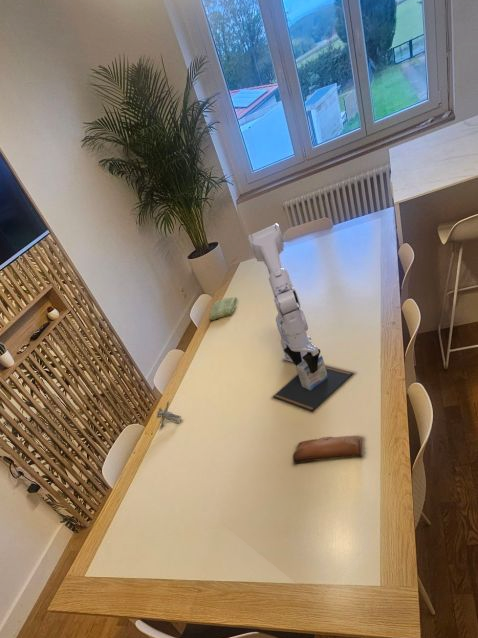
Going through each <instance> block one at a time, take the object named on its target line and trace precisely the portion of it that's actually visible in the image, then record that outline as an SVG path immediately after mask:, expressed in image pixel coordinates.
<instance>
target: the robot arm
mask: <svg viewBox="0 0 478 638" xmlns="http://www.w3.org/2000/svg"><path fill="white" fill-rule="evenodd" d="M247 237H248V238H247V239H248V243H249V245H250V248H251V252H252V254H253V256H254V260H256V262H262V263H264V265H265V266H266V268H267V273H268V275H269V276H268V281H269V285H270V288H271V291H272V294H273V297H274V298H273V301H274V305H275V307H276V311H277V315H276V316H275V323H276V327H277V330H278V333H279V336H280V345H281V349H282V351H283V354H284V358H283V360H284V361H286V362H287V361H288V362H291V363H293V364H294V365H295V367H296V366H297V365H298V364H299V363H301V362H302V361H304V360H305V362H306V363H307V365H308V367H309V369H310V371H311V373H315V372H316V371H317V370H318V358H319V355H320V354H321V349H320V348H318V346H316V345H315V344H314V343H313V342H312V341H311V340H312V337H311V336H309V335H308V334H307V333H308V332H307V331H308V329H309V326H308V322H307V319H306V316H305V314H304V311H303V309H302V307H301V302H300V298H299V296H298V292H297V290H296V288H295V287H294V285H293V284H292V281H291V278H290V274H289V272H288V270H286V268H282V263H281V259H280V255H281V253H283V251H284V249H285V244H284V238H283V234H282V231H281V228H280V225H279V224H278V223H277V222H276V223H274V224H271V225H270V226H268V227H265V228H263V229H261V230H259V231H256V232H254V233H251V234H248V236H247Z"/></svg>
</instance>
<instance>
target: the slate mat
mask: <svg viewBox="0 0 478 638" xmlns="http://www.w3.org/2000/svg"><path fill="white" fill-rule="evenodd" d="M325 368H326V372H327V376H328V378H327V379H326V380H324V381H323V382H321V383H320V384H319V385H318V386H316V387H315V388H314V389H312V390H308V389H306V388H304V387H302V384H301V381H300V378H299V375H298V374H297V375H296V376H294V377H293V378H292V379H291V380H290V381H289V382H288V383H286V384H285V385H284V386H283V387H282V388H281V389H280V390H278V391H277V393H275V394H274V395H273V396H272V398H274V399H276V400H279V401H281V402H284V403H287V404H289V405H293V406H294V407H298V408H301V409H302V410H303V409H304V410H306V411H308V412H312V413H313V412H314V411H315V410H317V409H318V407H319V406H321V405H322V404H323V403H324V402H325V401H326V400H327V399H328V398H330V396H332V394H334V392H336V391H337V390H338V389H339V388H340V387H341V386H342V385H343V384H345V383H346V381H347V380H348V379H349V378H351V377H352V376H353V374H354V373H353V372H351V371H347V370H343V369H339V368H334V367H332V366H328V365H325Z"/></svg>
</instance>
